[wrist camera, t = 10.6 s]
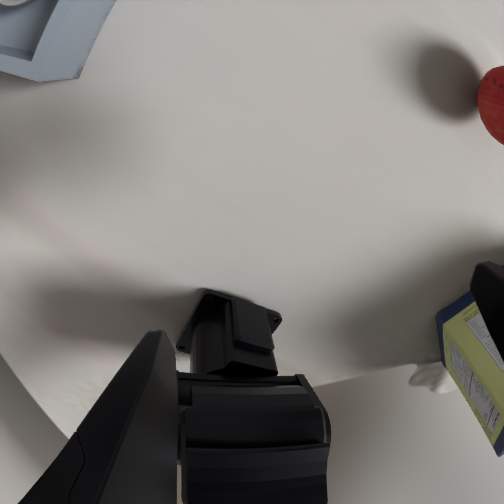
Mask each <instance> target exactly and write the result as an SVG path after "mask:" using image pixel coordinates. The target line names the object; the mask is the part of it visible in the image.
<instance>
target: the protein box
mask: <svg viewBox="0 0 504 504" xmlns="http://www.w3.org/2000/svg"><path fill="white" fill-rule="evenodd" d="M502 267H504V266H502ZM436 320H437V326H438V334H439V342H440V350H441V358H442V363H443V365H444V367H445V368H446V369H447V371H448V372H449V374H450V375H451V377H452V378H453V380H454V381H455V383H456V384H457V386H458V388H459V389H460V391H461V392H462V394H463V396H464V397H465V399H466V401H467V402H468V404H469V406H470V407H471V409H472V411H473V413H474V414H475V416H476V418H477V420H478V421H479V423H480V425H481V427H482V428H483V430H484V432H485V434H486V436H487V437H488V439H489V441H490V443H491V445H492V446H493V448H494V450H495V452H496V454H497V455H498V457H500V456H502V455H503V454H504V362H503V360H502V358H501V356H500V354H499V352H498V350H497V348H496V346H495V344H494V342H493V340H492V338H491V336H490V334H489V332H488V330H487V327H486V325H485V323H484V320H483V318H482V316H481V313H480V311H479V309H478V307H477V304H476V302H475V300H474V298H473V296H472V294H471V291H469V292H468V293H467V294H465V295H464V296H462V297H461V298H460V299H458V300H457V301H455V302H454V303H452V304H451V305H450V306H448V307H447V308H445V309H444V310H442V311H441V312H439V313H438V314H437V315H436Z"/></svg>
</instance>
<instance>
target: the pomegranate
mask: <svg viewBox="0 0 504 504" xmlns="http://www.w3.org/2000/svg"><path fill="white" fill-rule="evenodd" d="M477 104H478V108H479V113H480V117H481V120H482V122H483V123H484V125H485V127H486V129H487V130H488V132H489V133H490V134H491V135H492V136H493V137H494V138H495V139H496V140H497V141H498V142H500V143H501V144H503V145H504V66H500V67H496V68H493V69H491V70H490V71H488V72H487V73H486V74H485V76H484V77H483V79H482V80H481V82H480V85H479V89H478V94H477Z"/></svg>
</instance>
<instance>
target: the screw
mask: <svg viewBox="0 0 504 504" xmlns="http://www.w3.org/2000/svg"><path fill="white" fill-rule="evenodd" d="M29 1H31V0H0V3H1V4H3V5H7V6H17V5H21V4H24V3H27V2H29Z"/></svg>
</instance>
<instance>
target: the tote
mask: <svg viewBox="0 0 504 504" xmlns="http://www.w3.org/2000/svg"><path fill="white" fill-rule="evenodd" d="M115 1H116V0H31V1H29V2H27V3H24V4H21V5H17V6H7V5H3V4H1V3H0V71H2V72H6V73H10V74H13V75H17V76H20V77H23V78H27V79H30V80H33V81H37V82H42V81H52V80H63V79H77V78H79V76H80V73H81V71H82V68H83V66H84V64H85V61H86V59H87V57H88V55H89V52H90V50H91V48H92V46H93V44H94V42H95V39H96V37H97V35H98V33H99V31H100V29H101V27H102V25H103V23H104V22H105V20H106V18H107V16H108V14H109V12H110V10H111V8H112V7H113V5H114V3H115Z"/></svg>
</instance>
